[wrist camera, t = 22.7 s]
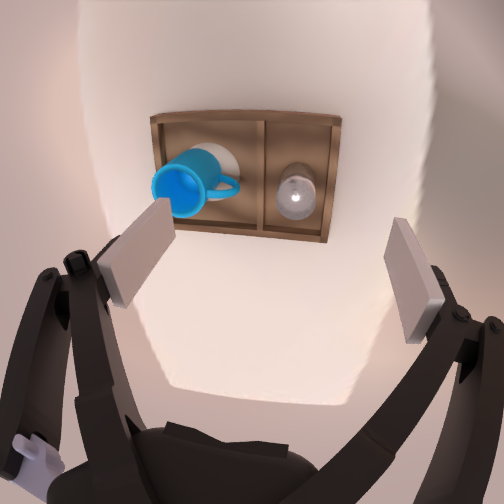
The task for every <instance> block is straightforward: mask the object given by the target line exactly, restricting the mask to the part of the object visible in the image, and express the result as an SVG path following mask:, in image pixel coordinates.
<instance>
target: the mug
mask: <svg viewBox="0 0 504 504" xmlns="http://www.w3.org/2000/svg"><path fill="white" fill-rule="evenodd" d="M220 182H223V183H226V184H229V185H231V186H232V187H233V188H231V189H227V190H216V188H217V187H218V185H219V184H220ZM151 189H152V194H153V197H154V199H155V201H156V200H157V199H158V198H170V203H171V210H172V216H174V217H177V218H187V217H191V216H193V215H195V214H196V213H198V212H199V211H200V210H201V208H202V207H203V206H204V204H205V203H206V201H207V200H208V199H209V198H217V199H221V198H229V197H232V196H235V195H236V194H237V193H239V191H240V184H239V183H238V182H237V180H235V179H233V178H231V177H229V176H226V175H222V171H221V166H220V164H219V161H218V160H217V159H216V158H215V156H214V155H213V154H211V153H210V152H208V151H207V150H203V149H200V148H191V149H189V150H186V151H184V152H182V153H181V154H180V155H178V156H177V157H175V158H174V159H173V160H171V161H170V162H168V163H167V164H166V165H164V166H163V167H162V168H160V169H159V170H158V171H157V172H156V174H155V175H154V177H153V180H152V187H151Z"/></svg>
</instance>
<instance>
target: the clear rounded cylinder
mask: <svg viewBox="0 0 504 504" xmlns="http://www.w3.org/2000/svg"><path fill="white" fill-rule="evenodd" d="M315 205H316V196H315V176H314V173H313V171H312V169H311V168H310V167H309V166H308V165H306V164H304V163H300V162H296V163H292V164H289V165H288V166H287V167H286V168H285V169H284V171H283V173H282V177H281V181H280V184H279V188H278V192H277V196H276V207H277V209H278V211H279V212H280V213H281V214H282V215H283V216H284V217H286V218H288V219H291V220H301V219H304V218H307V217H308V216H309V215H311V214H312V212H313V211H314V209H315Z"/></svg>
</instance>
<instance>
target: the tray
mask: <svg viewBox="0 0 504 504" xmlns="http://www.w3.org/2000/svg"><path fill="white" fill-rule="evenodd" d="M341 122H342V118H341V117H340V116H336V115H327V114H317V113H305V112H291V111H271V110H207V111H188V112H174V113H162V114H157V115H154V116H151V117H150V124H151V134H152V143H153V151H154V160H155V167H156V172H157V171H158V170H159V169H160V168H162V167H163V166H164V165H166V164H167V163H168V162H170V161H171V160H173V159H174V158H175V157H177V156H178V155H180V154H181V153H182V152H184V151H186V150H189V149H191V148H200V149H203V150H207V151H208V152H210V153H211V154H213V155H214V156H215V158H216V159H217V160H218V161H219V164H220V166H221V171H222V175H226V176H229V177H231V178H233V179H235V180H237V182H238V183H239V184H240V191H239V193H237V194H236V195H235V196H232V197H229V198H221V199H217V198H209V199H208V200H207V201H206V203H205V204H204V206H203V207H202V208H201V210H200V211H199V212H198V213H196V214H195V215H193V216H191V217H187V218H177V217H174V216H173V223H174V229H175V230H187V231H199V232H211V233H223V234H234V235H245V236H256V237H267V238H278V239H288V240H298V241H308V242H318V243H327V240H328V234H329V227H330V221H331V214H332V206H333V199H334V191H335V183H336V174H337V165H338V156H339V146H340V135H341ZM296 162H300V163H304V164H306V165H308V166H309V167H310V168H311V169H312V171H313V173H314V176H315V196H316V205H315V209H314V211H313V212H312V214H311V215H309V216H308V217H307V218H304V219H301V220H291V219H288V218H286V217H284V216H283V215H282V214H281V213H280V212H279V211H278V209H277V207H276V196H277V192H278V188H279V184H280V181H281V177H282V173H283V171H284V169H285V168H286V167H287V166H288V165H289V164H292V163H296ZM231 188H233V187H232V186H231V185H229V184H226V183H223V182H220V184H219V185H218V187H217V188H216V190H227V189H231Z"/></svg>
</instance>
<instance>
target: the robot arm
mask: <svg viewBox="0 0 504 504" xmlns="http://www.w3.org/2000/svg"><path fill="white" fill-rule="evenodd" d="M175 237H176V235H175V229H174V223H173V216H172V210H171V203H170V198H158V199H157V200H156V201H155V202H154V203H152V204H151V205H150V206H149V207H148V208H147V209H146V210H145V211H144V212H143V213H142V214H141V215H140V216H139V217H138V218H137V219H136V220H135V221H134V222H133V223H132V224H131V225H130V226H129V227H128V228H127V229H126V230H125V231H124V232H123V234H122V235H118V236H117V237H115V238H113V239H112V240H111V241H110V242H109V243H108V244H107V245H106V247H104V248H103V249H102V251H100V252H99V253H98V254H97V256H96V257H95V258H94V259H93V260H92V261H91V262H90V259H89V257H88V254H87V251H85V250H77V251H74V252H71V253H70V254H68V255H67V256H66V257H65V258H64V261H63V263H64V265H65V268H66V270H67V273H68V275H60V273H59V271H58V269H57V268H55V267H53V268H47V269H46V270H44V271H43V272H42V273H40V275H39V276H38V278H37V280H36V283H35V285H34V288H33V290H32V292H31V295H30V297H29V300H28V303H27V306H26V308H25V311H24V314H23V316H22V319H21V322H20V325H19V328H18V331H17V334H16V337H15V341H14V344H13V348H12V351H11V355H10V358H9V362H8V366H7V370H6V374H5V379H4V383H3V388H2V393H1V398H0V477H2V478H4V479H5V480H7V481H9V482H11V483H13V484H16V485H18V486H20V487H22V488H23V489H25V490H26V491H28V492H30V493H31V494H33V495H34V496H36V497H37V498H39V499H41V500H42V501H44V502H46V503H47V504H356V503H357V501H358V500H360V498H361V497H362V496H363V495H364V494H365V493H366V492H367V491H368V490H369V489H370V488H371V487H372V486H373V484H374V483H375V482H376V481H377V480H378V479H379V478H380V476H382V474H383V473H384V472H385V471H386V470H387V468H388V467H389V466H390V465H391V463H392V462H393V460H394V459H395V454H396V452H397V451H398V450H399V448H400V447H401V445H402V444H403V443H404V442H405V440H406V438H407V437H408V436H409V435H410V433H411V432H412V430H413V429H414V428H415V426H416V425H417V423H418V422H419V420H420V419H421V417H422V416H423V414H424V413H425V411H426V409H427V408H428V406H429V404H430V403H431V401H432V400H433V398H434V396H435V395H436V393H437V391H438V390H439V388H440V386H441V384H442V382H443V381H444V379H445V377H446V375H447V373H448V371H449V369H450V368H451V366H452V363H453V362H454V361H455V362H458V367H457V372H456V377H455V382H454V387H453V391H452V395H451V400H450V403H449V407H448V411H447V415H446V418H445V422H444V425H443V428H442V432H441V435H440V438H439V441H438V444H437V447H436V450H435V452H434V455H433V458H432V460H431V463H430V466H429V468H428V470H427V473H426V475H425V478H424V480H423V482H422V484H421V487H420V489H419V491H418V493H417V495H416V498H415V500H414V503H413V504H482V503H483V497H484V494H485V491H486V488H487V484H488V481H489V478H490V475H491V471H492V467H493V463H494V459H495V455H496V451H497V446H498V441H499V436H500V429H501V424H502V417H503V409H504V324H503V322H501V320H500V319H498V318H496V317H494V316H489V317H488V318H486V320H485V321H484V323H481V322H478V321H475V320H472V318H471V315H470V313H469V312H468V310H467V309H465V308H464V307H462V306H460V305H458V304H457V302H456V300H455V297H454V295H453V293H452V291H451V288H450V287H449V284H448V282H447V281H446V278H445V276H444V274H443V272H442V271H441V270H440V269H439V268H438V267H437V266H433V265H430V264H429V262H428V260H427V258H426V256H425V254H424V251H423V249H422V248H421V246H420V244H419V242H418V240H417V238H416V236H415V234H414V232H413V230H412V228H411V227H410V225H409V223H408V221H407V219H404V218H397V217H394V221H393V225H392V228H391V232H390V236H389V240H388V243H387V247H386V250H385V254H384V260H385V263H386V267H387V270H388V273H389V277H390V280H391V284H392V287H393V291H394V295H395V298H396V302H397V306H398V310H399V314H400V318H401V322H402V327H403V331H404V336H405V340H406V343H407V344H412V343H413V344H420V343H421V342H422V340H423V339H424V337H425V335H426V338H427V341H428V342H427V344H426V345H425V347H424V348H423V350H422V351H421V353H420V354H419V356H418V357H417V359H416V361H415V362H414V363H413V365H412V366H411V368H410V369H409V370H408V372H407V373H406V375H405V376H404V377H403V379H402V380H401V381H400V383H399V384H398V385H397V387H396V388H395V389H394V391H393V392H392V393H391V394H390V396H389V397H388V398H387V399H386V401H385V402H384V403H383V404H382V406H381V407H380V408H379V409H378V410H377V411H376V413H375V414H374V415H373V416H372V417H371V418H370V420H369V421H368V422H367V423H366V424H365V425H364V426H363V427H362V428H361V430H360V431H359V432H358V433H357V434H356V435H355V436H354V437H353V438H352V439H351V440H350V441H349V442H348V443H347V444H346V445H345V446H344V447H343V448H342V449H341V450H340V451H339V452H338V453H337V454H336V455H335V456H334V457H333V458H332V459H331V460H330V461H329V462H328V463H327V464H326V465H324V466H323V467H322V468H321V469H320V470H319V471H318V470H317V469H316V468H315V467H314V465H313V464H312V463H310V462H309V461H308V460H306V459H305V458H303V457H302V456H300V455H298V454H296V453H293V452H291V451H288V447H289V445H288V444H287V445H286V444H277V443H269V442H262V441H249V442H230V443H225V442H221V441H219V440H217V439H215V438H213V437H211V436H208V435H207V434H205V433H203V432H201V431H199V430H197V429H194V428H190V427H186V426H182V425H179V424H175V423H171V422H167V423H166V426H165V427H160V428H152V429H146V426H145V425H144V423H143V421H142V419H141V417H140V415H139V412H138V409H137V406H136V404H135V401H134V398H133V395H132V392H131V389H130V386H129V382H128V379H127V376H126V373H125V369H124V366H123V363H122V359H121V355H120V352H119V348H118V344H117V340H116V337H115V332H114V328H113V324H112V319H111V315H110V310H109V306H108V304H107V301H108V300H109V298H110V297H111V300H112V302H113V304H114V306H117V307H121V308H127V307H128V305H129V304H130V302H131V301H132V299H133V298H134V296H135V295H136V293H137V292H138V290H139V289H140V287H141V286H142V284H143V283H144V281H145V280H146V278H147V277H148V275H149V274H150V272H151V271H152V270H153V268H154V267H155V265H156V264H157V262H158V261H159V259H160V258H161V257H162V255H163V254H164V252H165V251H166V250H167V248H168V247H169V245H170V244H171V243H172V241H173V240H174V239H175ZM71 337H72V347H73V356H74V364H75V371H76V377H77V383H78V389H79V396H78V397H75V400H74V401H75V409H76V413H77V419H78V423H79V428H80V432H81V436H82V440H83V444H84V448H85V451H86V455H87V458H88V461H86V462H85V463H83V464H81V465H79V466H77V467H75V468H73V469H71V470H69V471H67V472H64V473H62V472H63V471H64V469H65V465H64V463H63V462H62V461H61V458H60V455H59V453H58V451H59V446H60V440H61V427H62V407H63V395H64V385H65V375H66V368H67V360H68V354H69V347H70V341H71Z"/></svg>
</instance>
